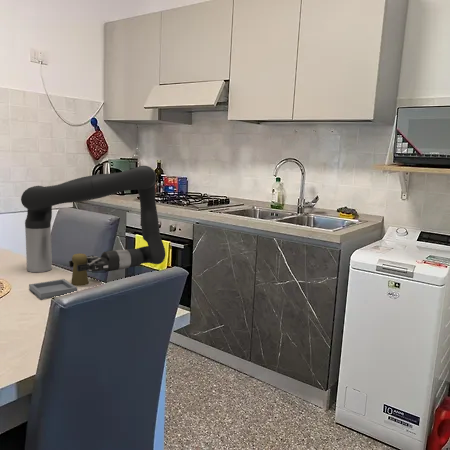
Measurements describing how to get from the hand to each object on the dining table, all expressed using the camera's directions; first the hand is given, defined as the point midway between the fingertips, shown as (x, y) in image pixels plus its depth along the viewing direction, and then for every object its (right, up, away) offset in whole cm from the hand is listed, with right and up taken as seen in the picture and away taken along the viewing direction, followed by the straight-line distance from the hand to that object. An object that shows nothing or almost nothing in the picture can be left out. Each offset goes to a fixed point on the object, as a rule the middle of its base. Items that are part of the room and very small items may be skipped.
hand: (73, 266), depth 158 cm
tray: (-4, -8, -7) cm, 12 cm away
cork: (+1, -7, +3) cm, 7 cm away
